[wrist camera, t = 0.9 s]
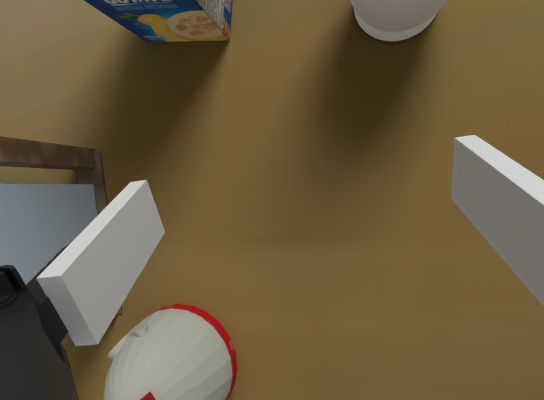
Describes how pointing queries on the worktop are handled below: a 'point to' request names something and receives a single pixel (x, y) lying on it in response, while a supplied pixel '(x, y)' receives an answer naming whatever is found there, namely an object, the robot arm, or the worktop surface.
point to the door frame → (58, 167)
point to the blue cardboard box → (171, 18)
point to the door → (41, 222)
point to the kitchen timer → (173, 358)
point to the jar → (395, 17)
